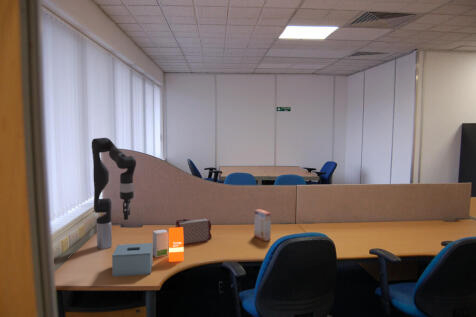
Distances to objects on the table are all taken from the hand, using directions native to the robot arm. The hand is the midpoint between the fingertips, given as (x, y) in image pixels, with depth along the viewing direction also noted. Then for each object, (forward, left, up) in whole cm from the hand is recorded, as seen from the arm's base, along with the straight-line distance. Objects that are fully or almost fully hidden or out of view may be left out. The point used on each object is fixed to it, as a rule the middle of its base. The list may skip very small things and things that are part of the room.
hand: (127, 217), depth 184 cm
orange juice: (-3, +28, -29) cm, 40 cm away
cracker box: (-32, +92, -29) cm, 102 cm away
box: (+8, +4, -29) cm, 30 cm away
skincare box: (-11, +18, -29) cm, 36 cm away
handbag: (-34, +42, -29) cm, 61 cm away
